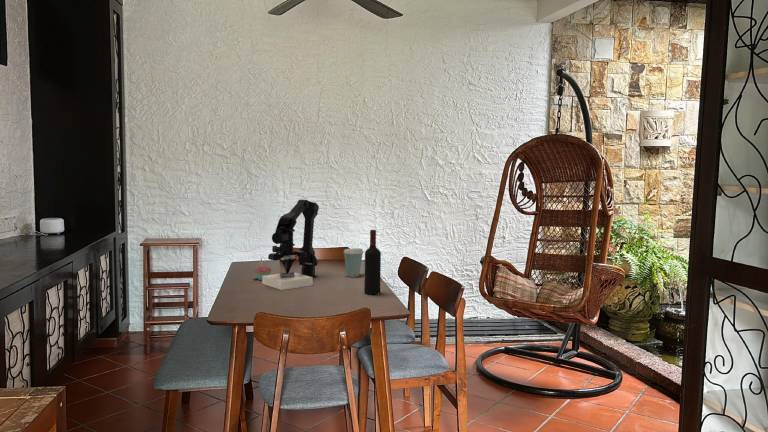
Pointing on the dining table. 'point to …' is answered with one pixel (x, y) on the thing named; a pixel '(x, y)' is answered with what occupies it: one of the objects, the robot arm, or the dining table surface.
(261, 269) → the cupcake
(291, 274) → the plunger
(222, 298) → the dining table surface
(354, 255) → the disposable coffee cup
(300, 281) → the block
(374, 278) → the wine bottle
